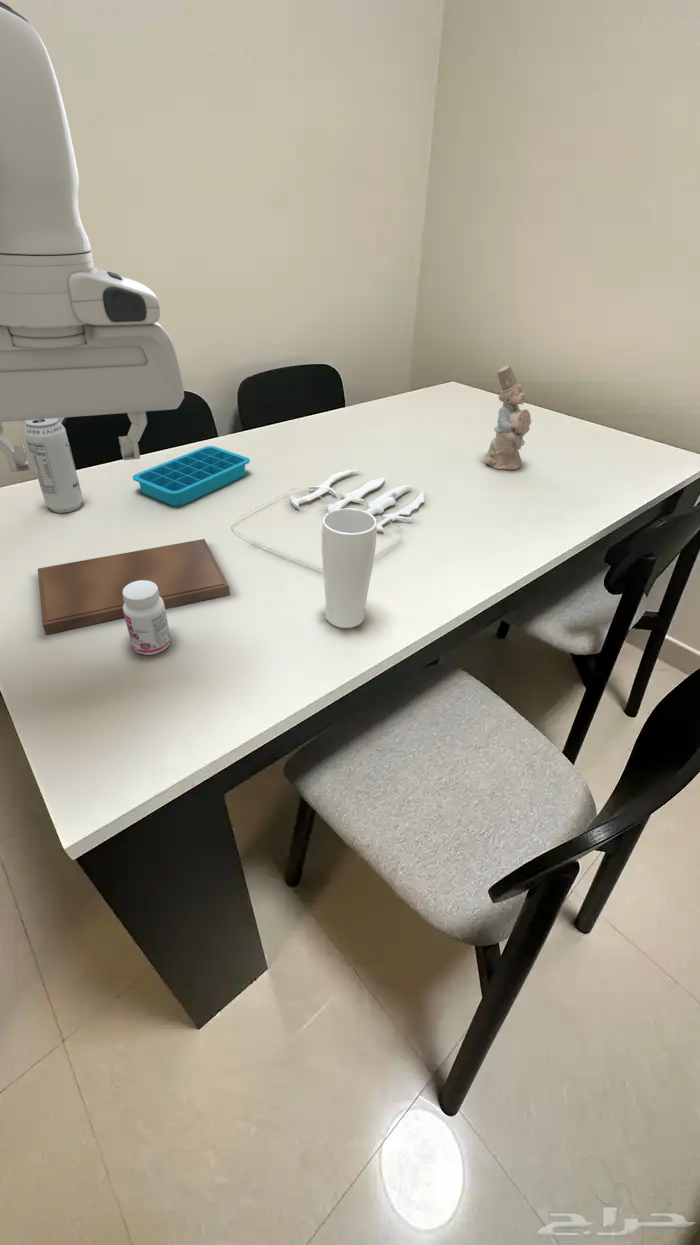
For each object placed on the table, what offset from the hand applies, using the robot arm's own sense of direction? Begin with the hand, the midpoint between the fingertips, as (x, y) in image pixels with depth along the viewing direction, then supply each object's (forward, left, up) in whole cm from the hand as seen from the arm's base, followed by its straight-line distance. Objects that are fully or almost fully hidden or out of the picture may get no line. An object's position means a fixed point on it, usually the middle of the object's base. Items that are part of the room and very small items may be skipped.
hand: (77, 463), depth 53 cm
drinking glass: (+28, 0, -26) cm, 39 cm away
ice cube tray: (+19, +49, -26) cm, 59 cm away
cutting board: (+3, +18, -26) cm, 32 cm away
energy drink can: (-4, +47, -26) cm, 54 cm away
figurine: (+82, +37, -26) cm, 94 cm away
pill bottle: (+3, +4, -26) cm, 27 cm away
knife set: (+40, +27, -26) cm, 55 cm away
